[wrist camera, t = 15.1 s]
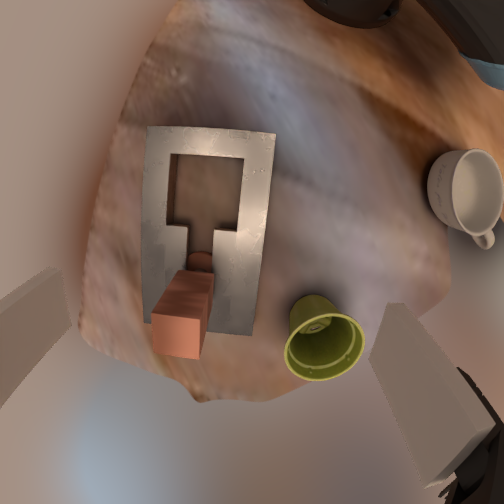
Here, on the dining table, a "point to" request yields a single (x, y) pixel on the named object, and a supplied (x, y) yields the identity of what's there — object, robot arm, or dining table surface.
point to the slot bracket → (225, 240)
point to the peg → (184, 309)
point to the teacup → (467, 193)
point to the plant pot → (321, 340)
